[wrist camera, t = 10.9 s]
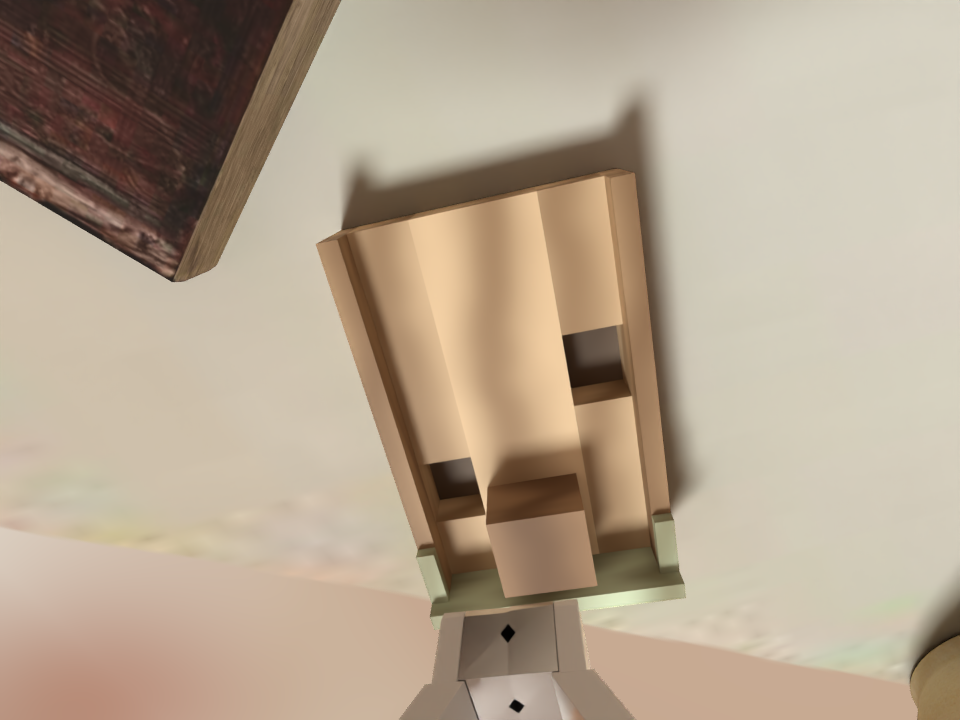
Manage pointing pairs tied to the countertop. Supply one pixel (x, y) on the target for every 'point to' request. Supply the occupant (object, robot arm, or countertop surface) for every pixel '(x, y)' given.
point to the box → (514, 379)
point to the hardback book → (150, 114)
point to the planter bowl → (938, 683)
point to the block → (540, 536)
